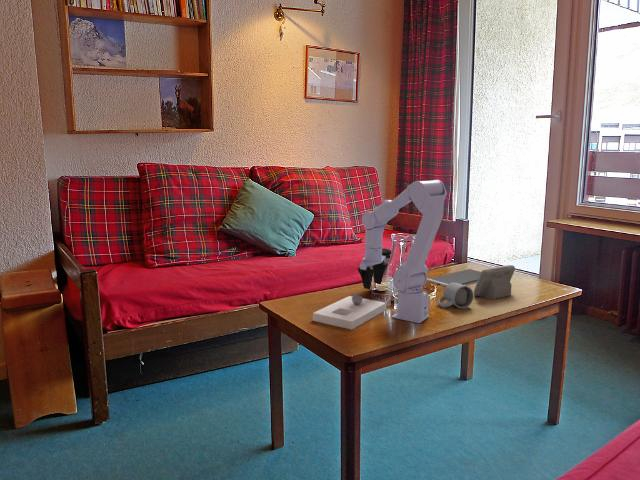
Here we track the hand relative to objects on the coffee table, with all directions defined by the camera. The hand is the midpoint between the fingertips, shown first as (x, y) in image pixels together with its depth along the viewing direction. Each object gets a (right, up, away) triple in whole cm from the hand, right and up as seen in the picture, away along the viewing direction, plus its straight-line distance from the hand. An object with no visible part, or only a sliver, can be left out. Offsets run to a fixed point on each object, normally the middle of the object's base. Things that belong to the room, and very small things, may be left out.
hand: (372, 286), depth 183 cm
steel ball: (-6, -4, -8) cm, 11 cm away
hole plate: (-8, -8, -11) cm, 16 cm away
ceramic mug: (+28, -7, 0) cm, 28 cm away
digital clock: (+45, -4, +12) cm, 47 cm away
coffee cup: (+4, -3, +18) cm, 19 cm away
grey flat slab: (+39, -1, +33) cm, 51 cm away
